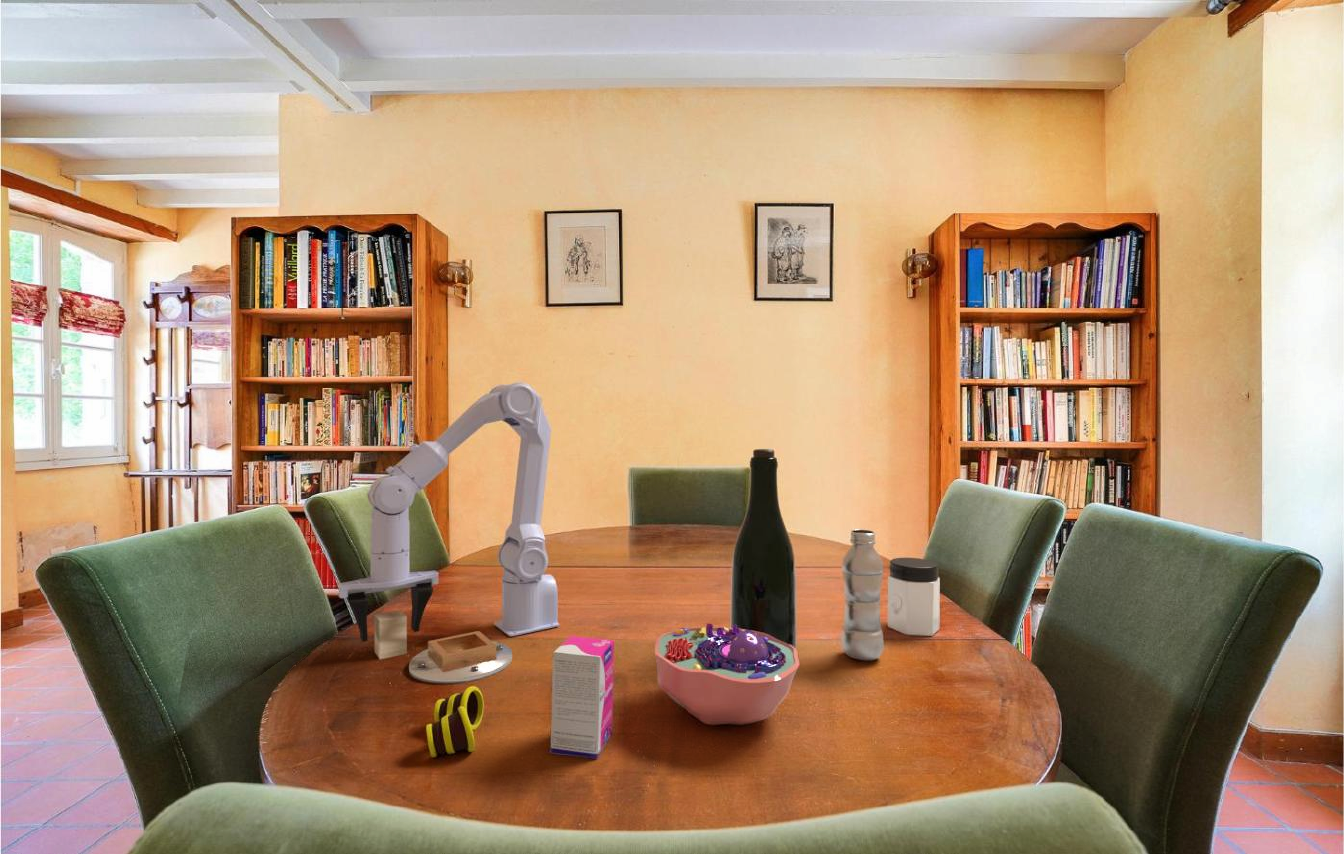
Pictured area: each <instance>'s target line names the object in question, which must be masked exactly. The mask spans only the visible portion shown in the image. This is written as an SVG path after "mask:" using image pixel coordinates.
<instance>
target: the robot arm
mask: <svg viewBox="0 0 1344 854" xmlns="http://www.w3.org/2000/svg"><path fill="white" fill-rule="evenodd" d="M542 399H543V398H542V397H541V395H540V394H538V392H537V391H535V389H534V388H533V387H532V386H531V385H529V384H528V383H525V382H519V381H518V382H517V381H516V382H513V383H510V384H499V385H496V386H494V387H493V388H492V389H490V391H489V392H488V393H485V394H484V395H482V396H480V397H479V398H478V399H477V400H476V401H475V402H473V403H472V404H471V405H470V406H469V407H468V408H467V409H466V410H465V411H464V412H463V413H462V414H461V415H460V416H459V417H458V418H456V420H455V421H454V422H452V424H451V425H450V426H449V427H448V428H447V429H445V430H444V431H443V432H442V434H440V435H439V436H438V437H437V438H436V439H435V440H434V441H421V442H420V443H419V444H417V443H413V444H412V445H410V447H409V448H408V450H409V453H407V454H406V456H404V457H403V458H402V459H401V460H400V461H399V462H397V464H395V465H394V466H391V465H390V466H388V467H387V468H386V469H385V471H386V472H387V473H388V475H387V474H386V475H383V476H380V477H378V478H376V479H375V480H374V481H373V482H372V483H371V485H370V487H369V490H368V492H367V498H368V501H369V503H370V504H371V506H372V507H371V515H370V517H371V522H370V577H365V578H360V579H356V580H355V579H354V580H351V581H345V582H339V583H338V597H339V599H344V598H345V599H346V600H347V602H348V604H349V607H350V608H351V611H352V613H353V614H354V617H355V620H356V624H357V627H358V632H359V637H360V638H359V639H360V640H361V642H362V643H363V642H368V638H369V637H368V623H367V622H368V619H367V618H368V607H369V601H368V600H367V596H366V595H367V594H372V593H378V592H386V591H392V590H400V589H406V588H410V597H411V620H410V622H411V623H410V624H411V625H410V626H411V630H412V631H413V632H414V633H417V632H419V631H420V627H421V622H422V618H423V615H424V612H425V609H426V607H427V604H428V603H429V600H430V599H431V598H432V595H433V592H434V587H433V586H435V585H438V584H439V572H438V571H437V570H428V571H427V570H426V571H410V564H411V563H410V562H411V561H410V541H411V539H410V538H411V537H410V535H411V533H410V532H411V531H410V530H411V529H410V528H411V527H410V523H411V522H410V520H409V517H410V516H409V515H410V513H409V512H410V511H409V508H410V507H411V506H412V504H413V502H414V500H415V494H417V493H418V494H419V493H420V492H421V491H422V490H423V489H424V488H425V487H427V485H429V483H431V482H432V481H433V480H434V479H436V478H437V476H438V475H439V474H440V473H442V472H443V471H444V470H445V469H446V468H447V467H448V465H449V455H450V454H452V452H453V451H455V450H456V449H457V448H458V447H459V446H461V445H462V444H463V443H465V442H466V441H467V440H468V439H469V438H470V437H471V436H472V435H474V434H475V433H476V432H477V431H478V430H480V429H481V428H482V427H484V426H485V425H486V424H491V423H496V422H500V421H502V422H504V423H505V424H507V425H509V427H511V428H512V429H513V430H514V431H515V433H516V434H517V435H518V436H519V437H520V442H519V443H520V444H519V453H518V460H517V469H516V478H515V479H516V480H515V487H514V495H513V496H514V497H513V504H512V505H513V506H512V512H511V513H512V514H511V522H510V524H509V526H508V528H507V529H506V531H505V536H504V540H503V542H502V544H501V546H500V547H499V550H498V553H497V560H498V562H499V565H500V567H502V568H503V573H502V577H501V578H502V579H501V583H502V584H501V589H502V590H501V594H502V595H501V602H502V603H501V615H502V616H501V620H498V621H494V623H493V624H494V626H496V627H497V628H498V630H501V631H502V632H503V633H504V634H505V635H507V636H508V637H514V636H520V635H526V634H528V633H529V634H530V633H534V632H537V631H544V630H548V629H551V628H556V627H560V623H559V622H558V619H559V618H558V611H559V610H558V608H559V607H558V605H559V604H558V603H559V602H558V594H559V593H558V586H557V582H556V581H557V580H556V579H555V577H554V576H553V575H552V574H548V573H547V574H545V572H546V571H547V568H548V565H549V557H548V554H547V551H546V538H545V534H544V532H543V529H542V517H543V509H544V508H543V507H544V498H545V489H546V481H547V471H548V461H549V455H550V446H551V445H550V444H551V435H552V430H551V429H552V428H551V425H550V423H549V420H548V418H547V416H546V412H545V411H544V407H543V405H542V404H543V403H542V402H543V401H542ZM365 594H366V595H365Z"/></svg>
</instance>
